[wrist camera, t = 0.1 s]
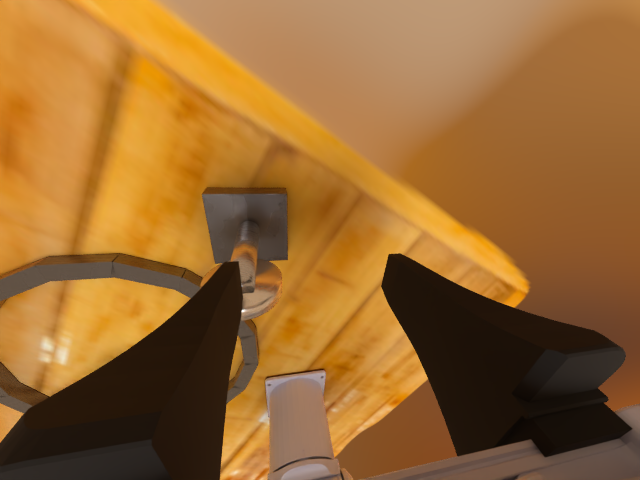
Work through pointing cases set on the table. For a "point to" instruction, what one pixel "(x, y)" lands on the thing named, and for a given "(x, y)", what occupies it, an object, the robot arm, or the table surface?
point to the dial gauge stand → (249, 240)
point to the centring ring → (57, 268)
